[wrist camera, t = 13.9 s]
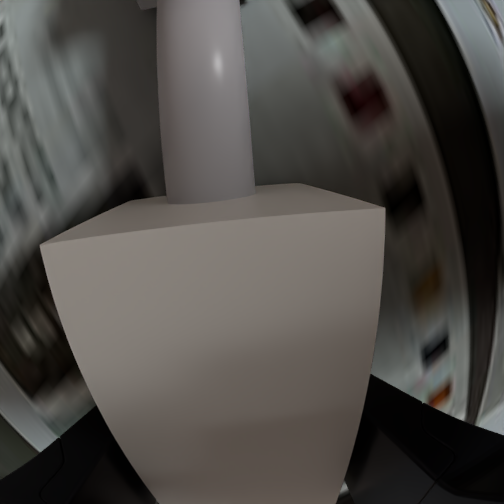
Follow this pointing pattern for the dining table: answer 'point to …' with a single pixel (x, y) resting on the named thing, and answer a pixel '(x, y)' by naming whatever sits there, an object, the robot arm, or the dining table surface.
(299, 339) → the plug
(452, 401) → the dining table surface
